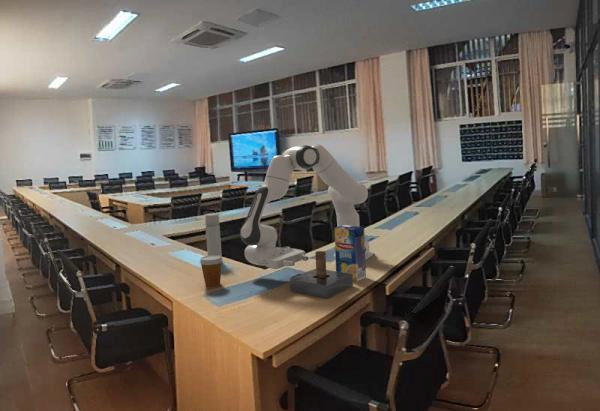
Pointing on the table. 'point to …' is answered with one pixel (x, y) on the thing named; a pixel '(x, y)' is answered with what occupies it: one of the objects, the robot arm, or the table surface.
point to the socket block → (321, 283)
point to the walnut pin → (321, 264)
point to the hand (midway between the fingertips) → (300, 261)
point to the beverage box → (350, 251)
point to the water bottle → (213, 234)
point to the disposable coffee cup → (211, 270)
